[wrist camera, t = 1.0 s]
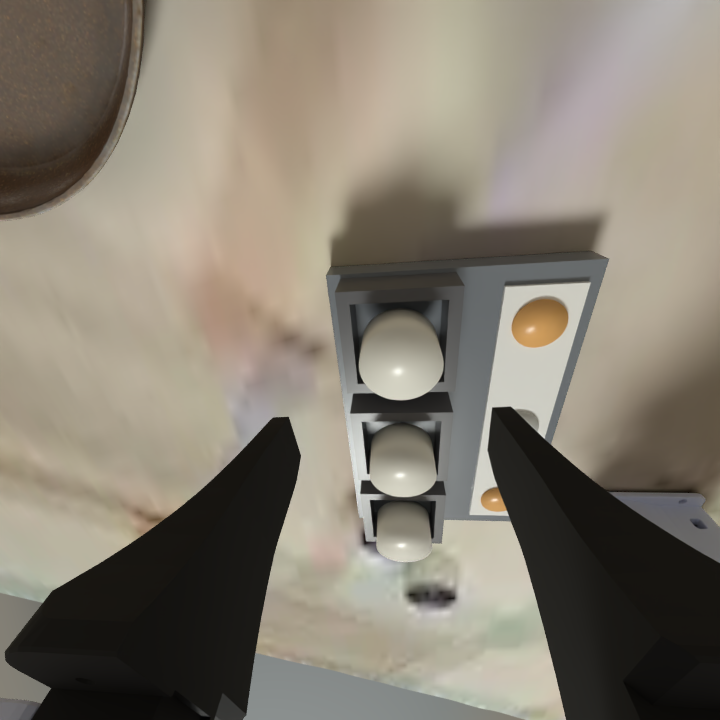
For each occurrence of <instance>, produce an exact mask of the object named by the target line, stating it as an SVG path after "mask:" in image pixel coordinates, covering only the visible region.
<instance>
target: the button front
mask: <svg viewBox="0 0 720 720" xmlns="http://www.w3.org/2000/svg"><path fill="white" fill-rule="evenodd" d="M443 367H444V361H443V356H442V352H441V349H440V345H439V341H438V338H437V334H436V331H435V328H434V326H433V324H432V323H431V322H430V320H429V319H428V318H427V317H425V316H424V315H423V314H421V313H419V312H417V311H415V310H411V309H406V308H394V309H390V310H386V311H384V312H382V313H380V314H378V315H377V316H375V317H374V318H373V319H372V320H371V321H370V322H369V323H368V325H367V326H366V328H365V331H364V334H363V338H362V345H361V352H360V358H359V372H360V375H361V378H362V380H363V382H364V383H365V384H366V386H367V387H368V388H369V389H370V390H371V391H373V392H374V393H376V394H377V395H379V396H381V397H384V398H387V399H391V400H409V399H414V398H417V397H420V396H422V395H424V394H426V393H427V392H429V391H430V390H431V389H432V388H433V387H434V386H435V385H436V384H437V383H438V381H439V380H440V378H441V375H442V372H443Z"/></svg>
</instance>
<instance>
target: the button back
mask: <svg viewBox="0 0 720 720" xmlns="http://www.w3.org/2000/svg"><path fill="white" fill-rule="evenodd" d="M377 550H378V551H379V553H380V554H381V555H383V556H384V557H386V558H388V559H391V560H394V561H399V562H414V561H418V560H421V559H424V558H425V557H427V556H428V555H429V554H430V553H431V551H432V542H431V533H430V524H429V515H428V512H427V510H426V509H425V508H424V507H423V506H422V505H420V504H418V503H416V502H412V501H407V500H396V501H391V502H388V503H386V504H384V505H383V506H382V507H381V508H380V509H379V511H378V516H377Z"/></svg>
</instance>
